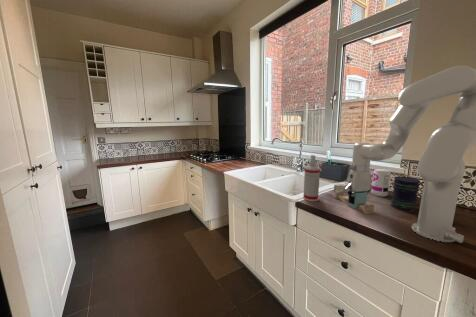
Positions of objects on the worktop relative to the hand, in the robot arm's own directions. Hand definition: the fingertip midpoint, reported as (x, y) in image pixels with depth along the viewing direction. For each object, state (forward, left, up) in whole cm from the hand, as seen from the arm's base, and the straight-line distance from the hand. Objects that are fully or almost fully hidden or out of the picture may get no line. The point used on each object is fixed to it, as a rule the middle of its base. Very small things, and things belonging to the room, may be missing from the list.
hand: (356, 202), depth 104 cm
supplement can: (+12, -27, -3) cm, 30 cm away
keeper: (0, 0, -2) cm, 2 cm away
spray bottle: (+16, +16, -3) cm, 23 cm away
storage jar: (-6, -22, -3) cm, 23 cm away
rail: (+4, 0, -3) cm, 5 cm away
